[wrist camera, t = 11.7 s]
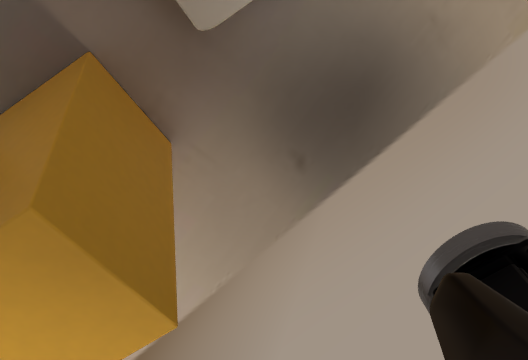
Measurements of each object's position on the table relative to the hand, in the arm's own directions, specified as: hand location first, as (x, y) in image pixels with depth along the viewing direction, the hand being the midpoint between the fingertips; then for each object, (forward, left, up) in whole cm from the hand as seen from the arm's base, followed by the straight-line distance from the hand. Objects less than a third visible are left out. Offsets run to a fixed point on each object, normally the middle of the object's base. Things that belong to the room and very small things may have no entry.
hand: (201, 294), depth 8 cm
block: (0, +4, -11) cm, 12 cm away
